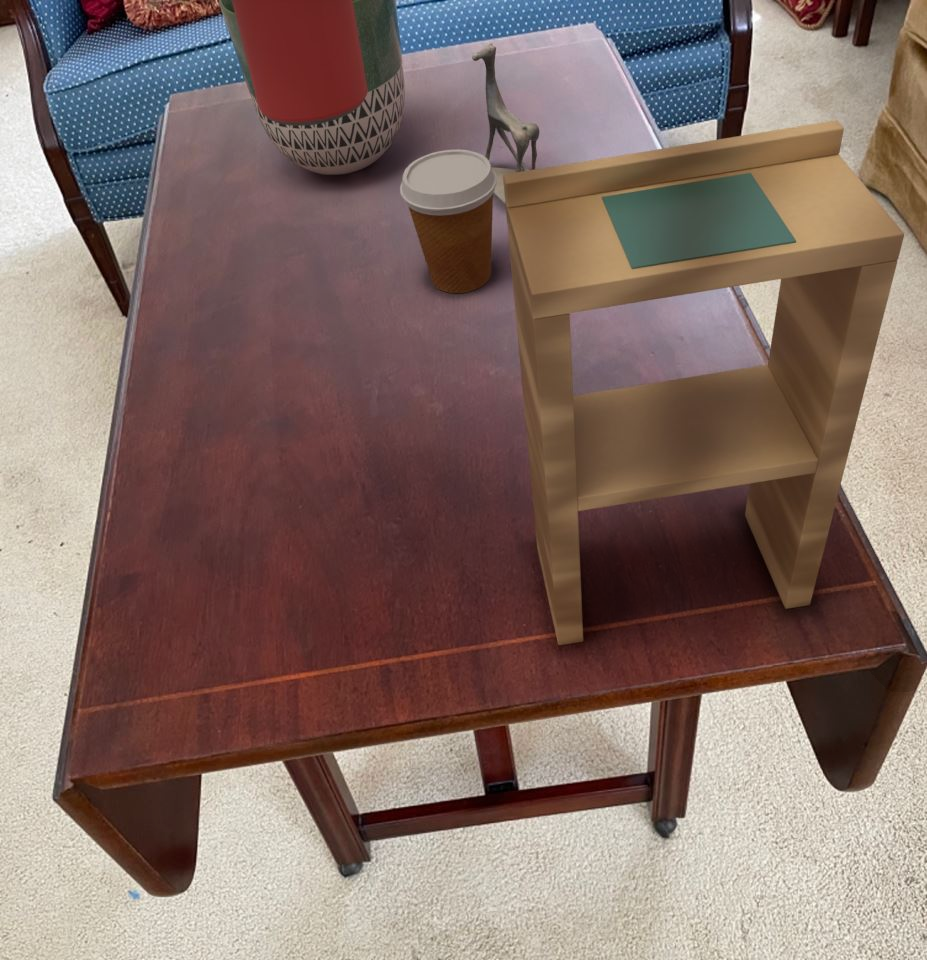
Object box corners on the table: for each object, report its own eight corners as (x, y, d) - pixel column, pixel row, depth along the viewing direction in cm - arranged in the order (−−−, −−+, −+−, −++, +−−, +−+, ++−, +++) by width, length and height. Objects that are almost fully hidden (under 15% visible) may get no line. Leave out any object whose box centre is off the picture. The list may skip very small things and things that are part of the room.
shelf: (558, 645, 66) (529, 267, 44) (537, 548, 73) (502, 174, 50) (810, 605, 66) (912, 205, 44) (767, 511, 72) (837, 119, 50)
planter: (429, 121, 125) (402, -56, 109) (410, 198, 111) (377, 9, 96) (288, 131, 127) (243, -40, 112) (253, 207, 114) (197, 25, 99)
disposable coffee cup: (424, 311, 96) (405, 205, 87) (410, 261, 102) (391, 158, 94) (515, 291, 96) (505, 184, 87) (495, 243, 103) (484, 139, 94)
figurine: (556, 198, 108) (550, 67, 97) (502, 211, 107) (490, 81, 96) (527, 156, 115) (518, 30, 104) (476, 168, 114) (462, 42, 104)
